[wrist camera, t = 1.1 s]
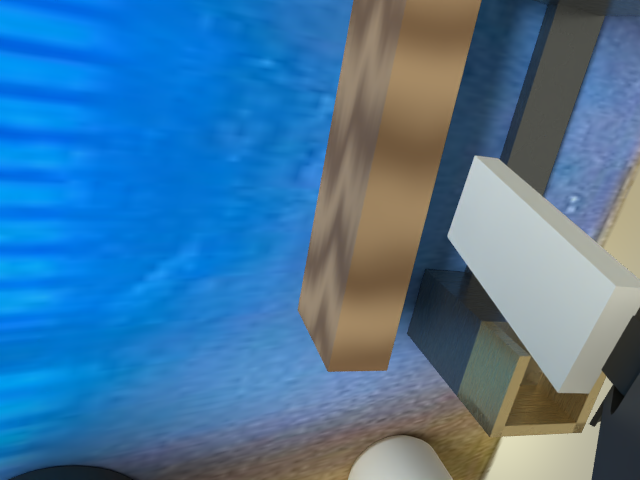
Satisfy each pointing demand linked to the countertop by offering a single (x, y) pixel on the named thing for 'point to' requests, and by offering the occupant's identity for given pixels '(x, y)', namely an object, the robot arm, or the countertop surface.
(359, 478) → the alcohol
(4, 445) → the countertop surface
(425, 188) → the rail
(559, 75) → the bracket stand
